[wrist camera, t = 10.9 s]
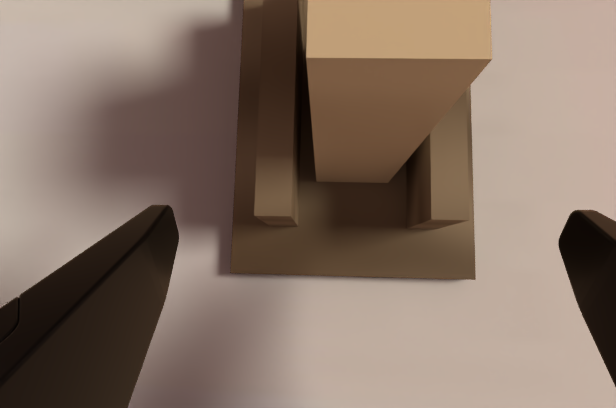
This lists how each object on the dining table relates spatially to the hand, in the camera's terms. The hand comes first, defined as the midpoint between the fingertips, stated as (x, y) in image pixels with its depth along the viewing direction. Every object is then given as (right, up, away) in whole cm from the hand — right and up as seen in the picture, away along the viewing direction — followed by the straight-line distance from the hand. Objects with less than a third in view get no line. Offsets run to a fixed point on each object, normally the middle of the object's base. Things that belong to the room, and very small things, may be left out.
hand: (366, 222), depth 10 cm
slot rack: (+1, +4, +9) cm, 10 cm away
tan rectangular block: (+1, +4, +9) cm, 10 cm away
